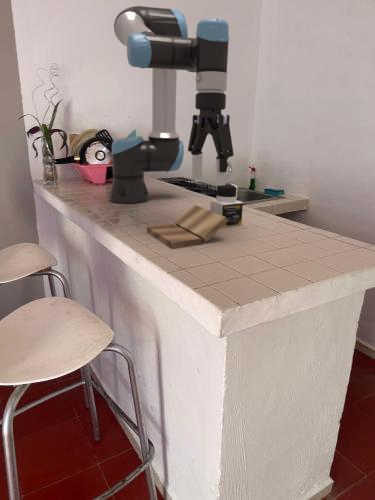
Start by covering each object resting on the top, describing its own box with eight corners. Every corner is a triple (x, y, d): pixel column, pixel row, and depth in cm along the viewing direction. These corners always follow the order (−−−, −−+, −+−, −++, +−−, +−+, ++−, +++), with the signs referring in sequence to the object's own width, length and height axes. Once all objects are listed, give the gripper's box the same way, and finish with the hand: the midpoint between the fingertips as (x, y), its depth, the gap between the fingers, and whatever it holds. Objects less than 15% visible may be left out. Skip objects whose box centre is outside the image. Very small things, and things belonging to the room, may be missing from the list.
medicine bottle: (221, 228, 109) (223, 186, 105) (209, 222, 115) (210, 183, 111) (241, 225, 112) (244, 185, 108) (228, 219, 118) (230, 181, 114)
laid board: (147, 232, 104) (147, 226, 103) (176, 228, 108) (176, 223, 107) (172, 248, 90) (172, 242, 90) (204, 243, 94) (204, 238, 94)
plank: (177, 226, 108) (174, 222, 107) (197, 208, 109) (194, 204, 108) (205, 241, 94) (203, 237, 94) (228, 221, 96) (225, 217, 95)
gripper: (175, 94, 100) (175, 176, 107) (224, 88, 80) (220, 189, 87) (199, 95, 103) (198, 175, 110) (252, 90, 84) (246, 187, 91)
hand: (208, 181), depth 99 cm, fingers open, 11 cm apart
